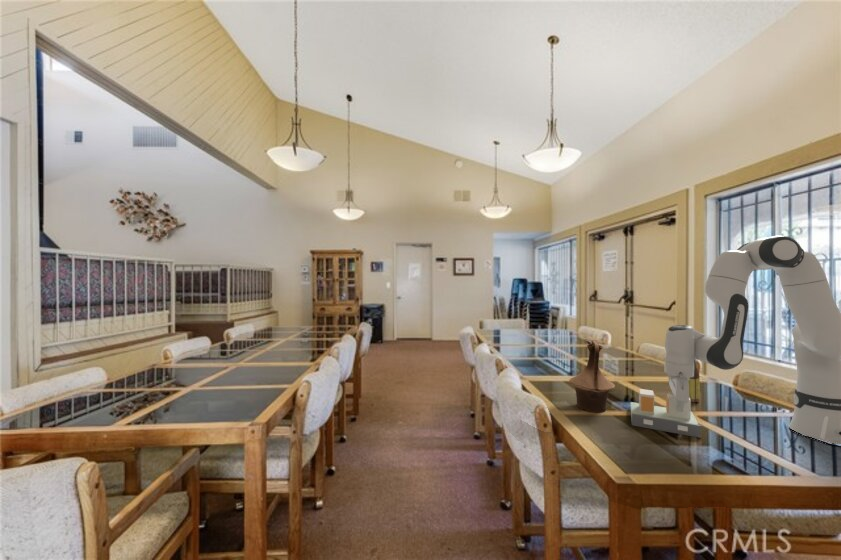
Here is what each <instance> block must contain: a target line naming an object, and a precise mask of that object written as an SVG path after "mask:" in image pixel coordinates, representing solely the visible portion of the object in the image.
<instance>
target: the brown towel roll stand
mask: <svg viewBox="0 0 841 560" xmlns="http://www.w3.org/2000/svg"><path fill="white" fill-rule="evenodd" d="M584 341H585V342H586V343H587V345H586V347H587V349H588V352H589V353H588V361H587V364H586V366H585V368H584V369H583V370H582V371H581V372H580V373H579V374H577V375H575V376H573V377H571V378H569V379H568V380H569V383H570V384H572V385H573V386H574V389H575V397H576V406H577V408H579V409H581V410H583V409H585V410H584V411H587V410H589V411H588V412H591V411H593V412H594V413H603V412H605V411H606V409H607V401H608V396H609V393H610V390H613V389H614V388H615V387H616V385H615V384H614V383H613V382H612V381H610V379H608V378H607V377H606V376H605V375H604V374H603V373H602V371H601V369H600V367H599V362H600V352H601V350H602V349H603V345H601V344H599V341H598V340H595V339H584ZM593 412H592V413H593Z"/></svg>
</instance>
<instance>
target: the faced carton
mask: <svg viewBox="0 0 841 560" xmlns="http://www.w3.org/2000/svg"><path fill="white" fill-rule="evenodd" d="M638 391H639V392H638V403H639V410H640V412H642V413H648V414H654V406H655V393H654V390H653V389H652V390H650V389H644V388H643V389H642V388H638Z"/></svg>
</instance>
